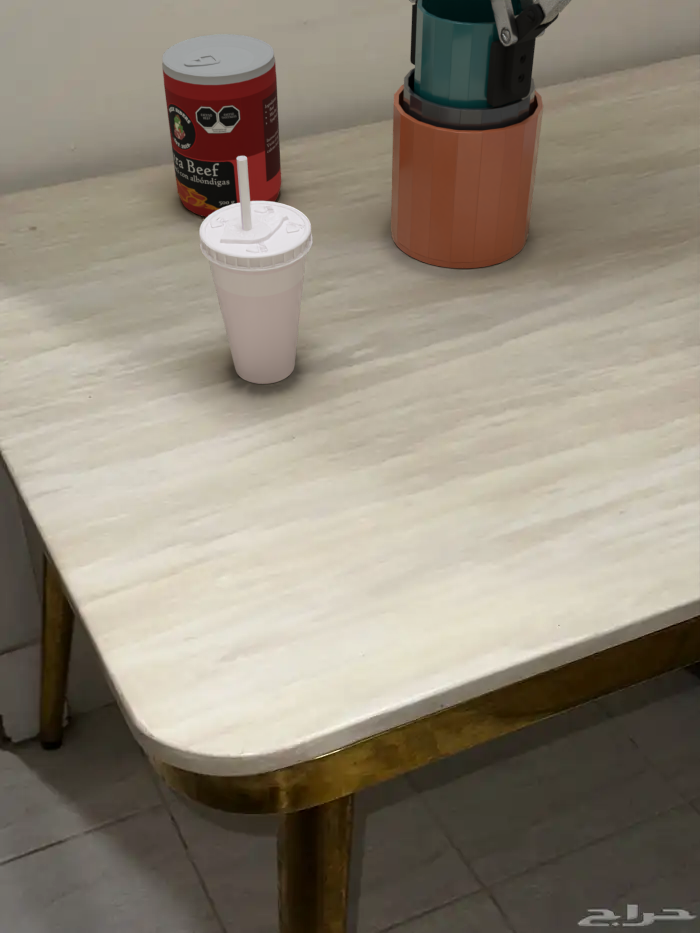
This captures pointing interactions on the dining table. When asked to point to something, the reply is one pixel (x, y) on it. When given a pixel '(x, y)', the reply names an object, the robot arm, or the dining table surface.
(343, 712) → the dining table surface
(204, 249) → the smoothie
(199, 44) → the canned food
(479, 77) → the teal cup
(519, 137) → the stack
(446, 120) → the stack top
